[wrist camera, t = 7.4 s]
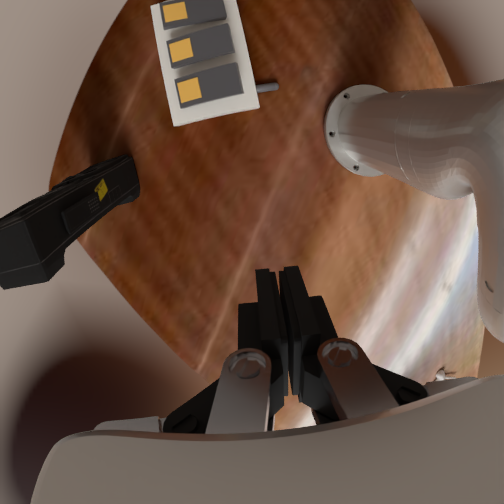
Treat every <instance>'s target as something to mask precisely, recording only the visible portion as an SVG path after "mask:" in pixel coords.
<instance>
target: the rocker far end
mask: <svg viewBox="0 0 504 504" xmlns="http://www.w3.org/2000/svg"><path fill="white" fill-rule="evenodd" d="M159 6H160V12H161V18H162V24H163V29H164V30H168V29H172V28H177V27H182V26H187V25H194V24H199V23H205V22H212V21H220V20H226V18H227V14H226V10H225V5H224V1H223V0H172V1H167V2H162V3H159Z"/></svg>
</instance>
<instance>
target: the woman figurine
mask: <svg viewBox="0 0 504 504" xmlns="http://www.w3.org/2000/svg"><path fill="white" fill-rule="evenodd" d="M436 377H437V379H436V380H435V381H442V380H445V379H450V378H453V379H456V377H450V376H449V377H448V376H445V373H444V370H440V371H438V372H437V374H436Z"/></svg>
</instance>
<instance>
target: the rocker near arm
mask: <svg viewBox="0 0 504 504" xmlns="http://www.w3.org/2000/svg"><path fill="white" fill-rule="evenodd" d="M174 81H175V86H176V90H177V95H178V100H179V104H180V109H184V108H188V107H191V106H195V105H199V104H202V103H206V102H210V101H214V100H218V99H222V98H227V97H231V96H236V95H240V94H244V91H243V86H242V81H241V76H240V72H239V67H238V63H236V62H234V63H229V64H225V65H221V66H217V67H214V68H210V69H206V70H203V71H199V72H196V73H193V74H190V75H186V76H183V77H180V78H177V79H174Z"/></svg>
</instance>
